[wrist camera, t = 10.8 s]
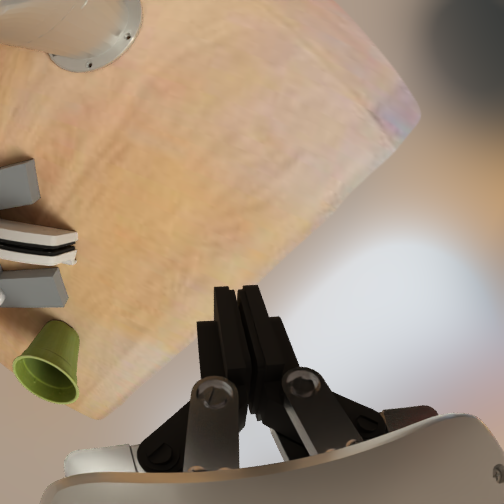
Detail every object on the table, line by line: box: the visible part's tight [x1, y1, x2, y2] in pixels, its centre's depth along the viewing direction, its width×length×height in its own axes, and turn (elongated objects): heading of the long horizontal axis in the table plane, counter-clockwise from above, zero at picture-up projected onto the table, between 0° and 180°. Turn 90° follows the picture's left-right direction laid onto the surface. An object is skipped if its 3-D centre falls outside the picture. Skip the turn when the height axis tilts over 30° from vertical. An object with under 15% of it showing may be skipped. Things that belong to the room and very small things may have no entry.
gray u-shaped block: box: [0, 159, 69, 308], centre depth 32 cm, size 22×15×4 cm
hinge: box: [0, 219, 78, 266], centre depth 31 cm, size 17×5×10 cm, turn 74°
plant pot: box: [13, 320, 79, 404], centre depth 39 cm, size 12×12×11 cm
